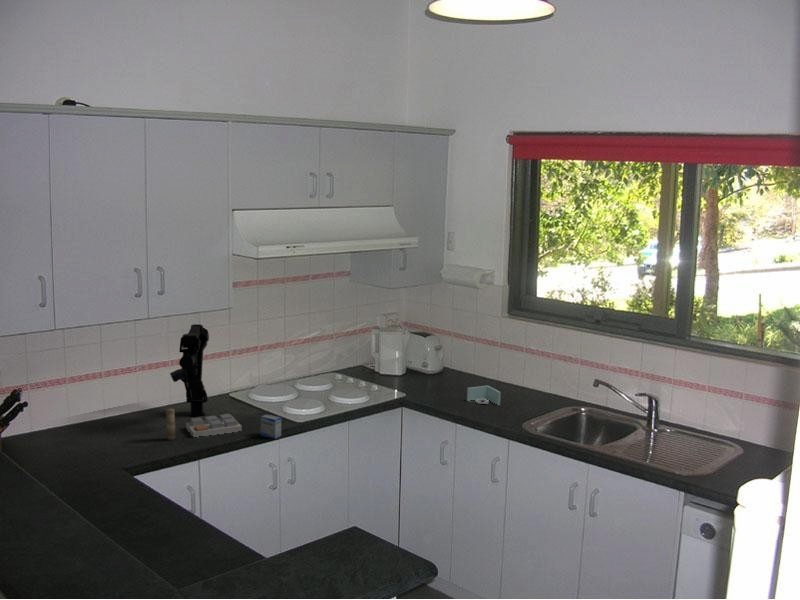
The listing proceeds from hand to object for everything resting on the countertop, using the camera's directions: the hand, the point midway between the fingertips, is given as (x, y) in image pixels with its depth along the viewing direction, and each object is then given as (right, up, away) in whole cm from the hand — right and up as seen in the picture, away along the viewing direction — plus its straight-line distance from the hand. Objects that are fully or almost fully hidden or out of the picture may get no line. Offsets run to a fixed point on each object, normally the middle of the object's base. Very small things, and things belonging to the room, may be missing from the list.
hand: (190, 397), depth 365 cm
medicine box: (+36, -16, -7) cm, 40 cm away
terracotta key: (+6, -14, -8) cm, 18 cm away
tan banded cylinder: (-5, -16, -15) cm, 22 cm away
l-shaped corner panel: (+134, -9, +47) cm, 142 cm away
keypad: (+11, -14, -2) cm, 18 cm away
